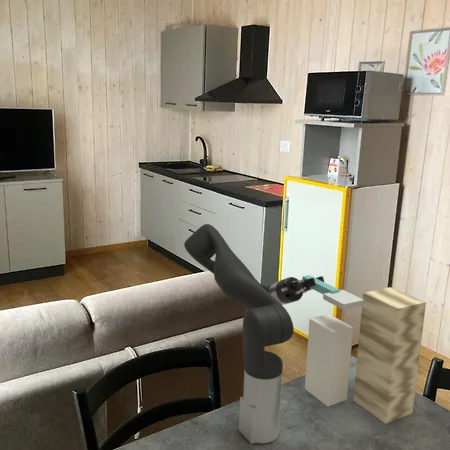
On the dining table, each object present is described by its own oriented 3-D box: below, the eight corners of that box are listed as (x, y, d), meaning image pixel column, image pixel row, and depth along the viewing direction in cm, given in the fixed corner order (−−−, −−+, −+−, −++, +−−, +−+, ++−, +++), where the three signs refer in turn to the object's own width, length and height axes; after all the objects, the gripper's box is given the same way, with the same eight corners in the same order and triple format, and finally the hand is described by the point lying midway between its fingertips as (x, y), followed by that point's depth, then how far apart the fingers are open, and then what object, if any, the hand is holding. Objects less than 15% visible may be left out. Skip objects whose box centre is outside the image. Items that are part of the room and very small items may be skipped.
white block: (327, 406, 137) (333, 332, 132) (304, 388, 145) (309, 318, 140) (346, 400, 140) (353, 327, 135) (323, 382, 149) (328, 314, 144)
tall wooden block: (385, 423, 130) (398, 308, 123) (353, 400, 140) (363, 292, 133) (412, 413, 135) (426, 302, 128) (379, 391, 145) (390, 287, 138)
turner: (343, 309, 128) (344, 301, 127) (295, 284, 145) (296, 277, 144) (363, 305, 131) (364, 297, 131) (314, 281, 148) (315, 274, 148)
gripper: (263, 283, 153) (295, 270, 138) (300, 276, 160) (334, 264, 145) (269, 307, 152) (302, 297, 137) (306, 299, 158) (340, 289, 144)
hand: (318, 280), depth 141 cm, fingers closed on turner, 2 cm apart
